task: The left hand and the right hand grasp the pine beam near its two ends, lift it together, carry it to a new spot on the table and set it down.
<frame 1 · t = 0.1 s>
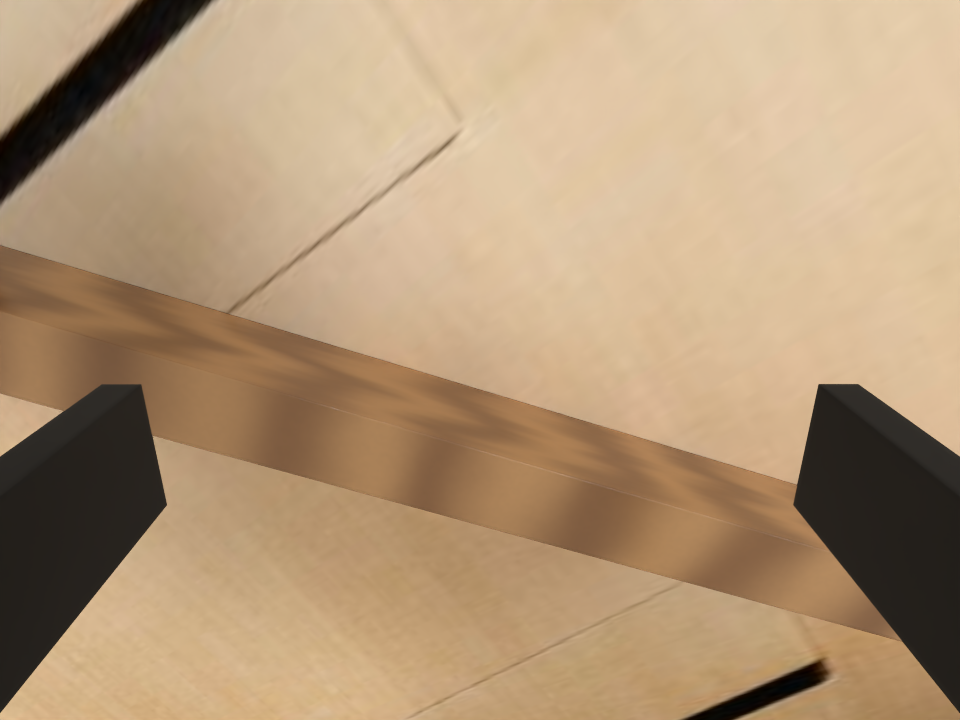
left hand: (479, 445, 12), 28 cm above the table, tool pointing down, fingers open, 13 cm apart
beam: (327, 377, 42), on the table
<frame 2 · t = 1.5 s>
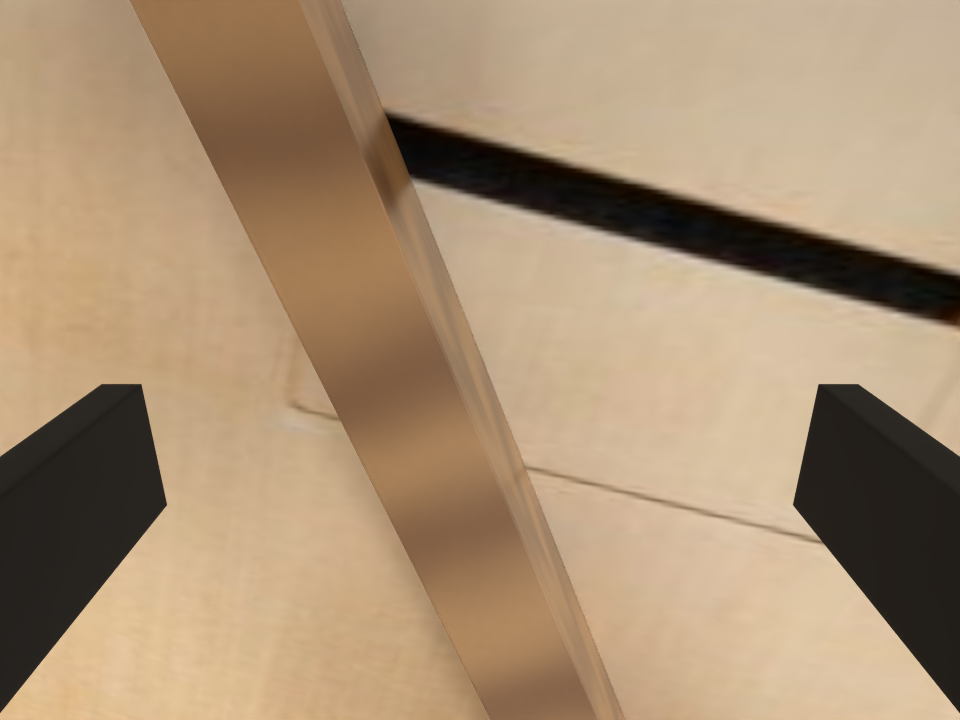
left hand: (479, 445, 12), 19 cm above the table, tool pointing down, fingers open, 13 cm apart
beam: (526, 580, 37), on the table
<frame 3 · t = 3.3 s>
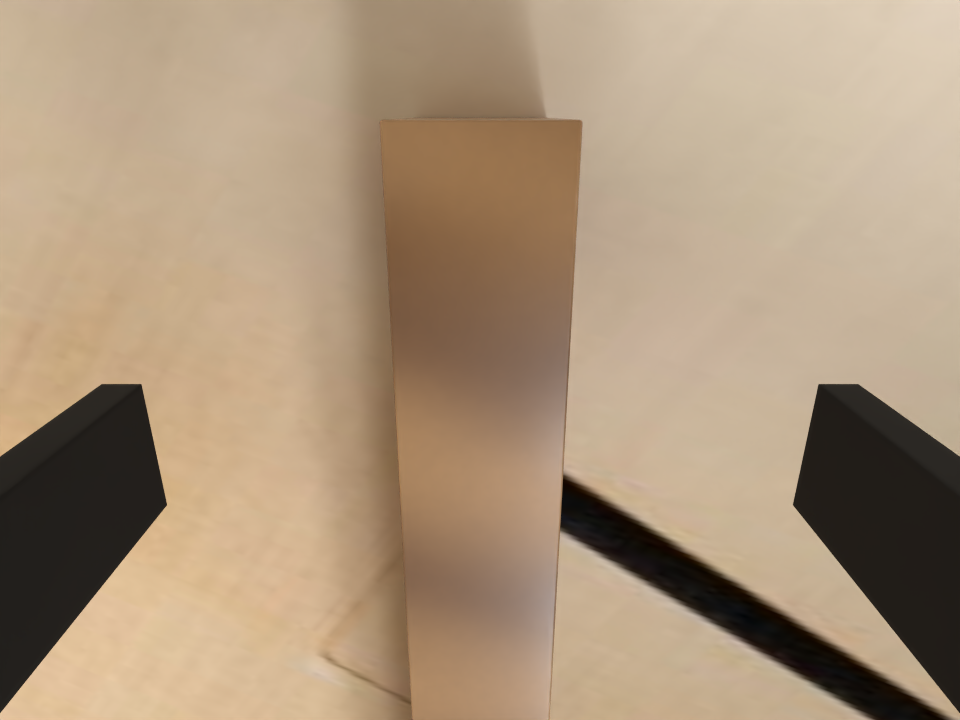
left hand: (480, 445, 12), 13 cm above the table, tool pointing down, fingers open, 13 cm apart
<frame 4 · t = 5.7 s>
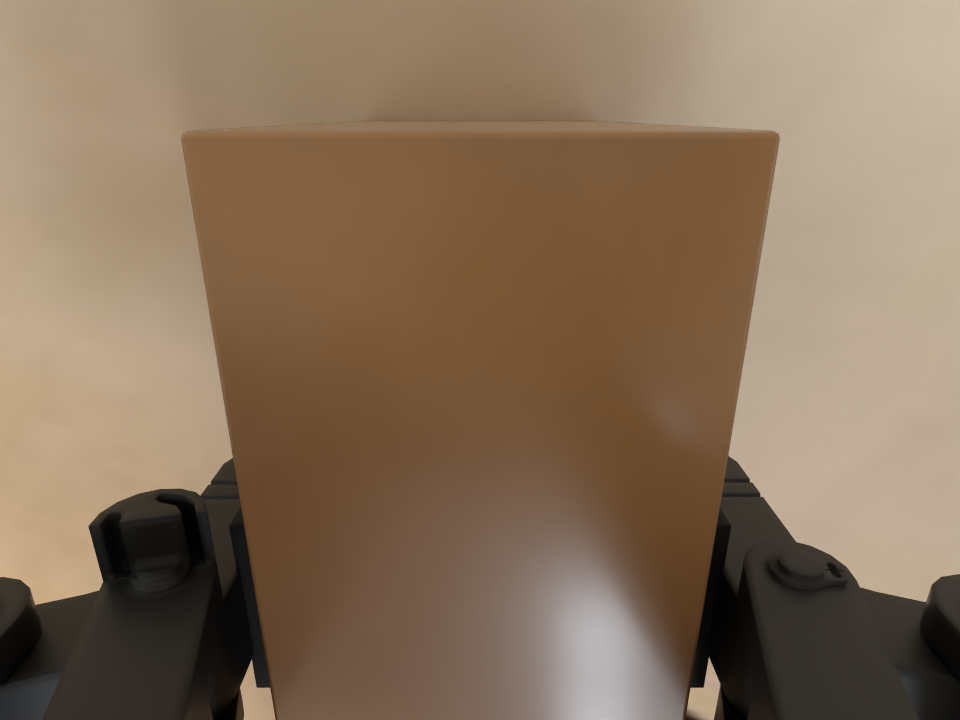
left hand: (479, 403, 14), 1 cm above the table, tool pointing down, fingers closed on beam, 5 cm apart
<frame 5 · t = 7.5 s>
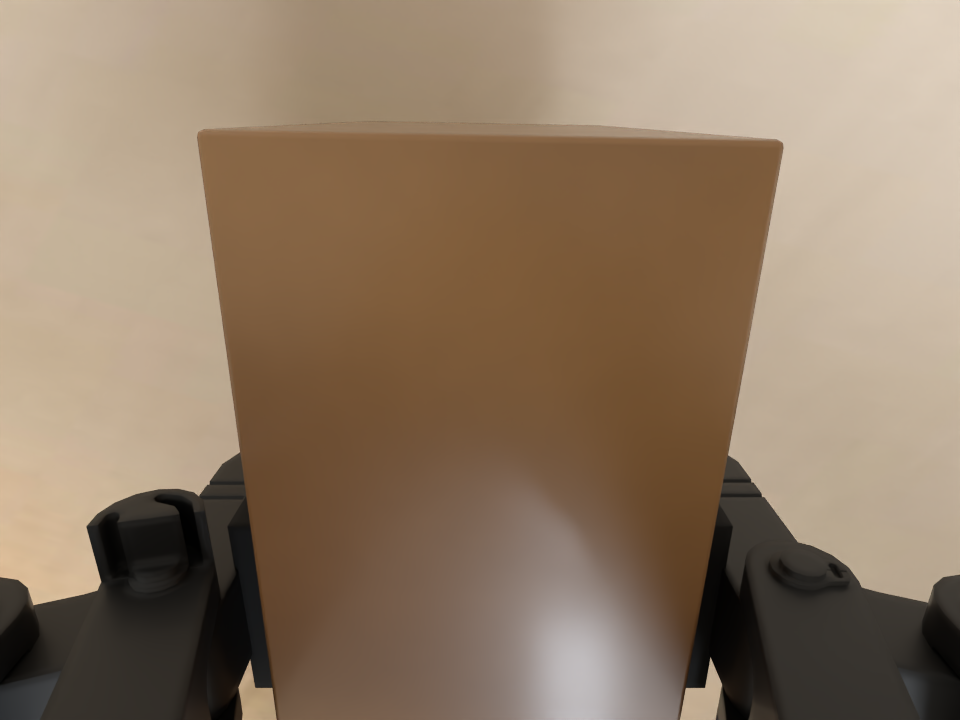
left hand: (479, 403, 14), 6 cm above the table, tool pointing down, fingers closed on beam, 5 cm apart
when the left hand's fingers open (2 cm above the table, at t = 9.8 s): beam drops 1 cm, on the table.
when the right hand's fingers open (2 cm above the table, at t = 9.8 s): beam drops 1 cm, on the table.
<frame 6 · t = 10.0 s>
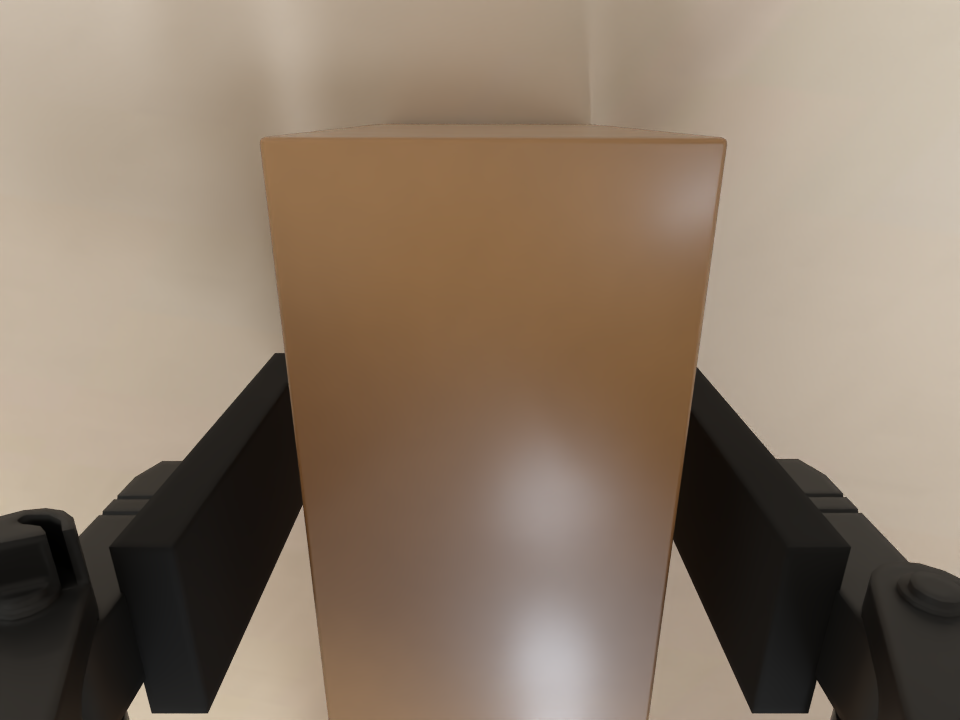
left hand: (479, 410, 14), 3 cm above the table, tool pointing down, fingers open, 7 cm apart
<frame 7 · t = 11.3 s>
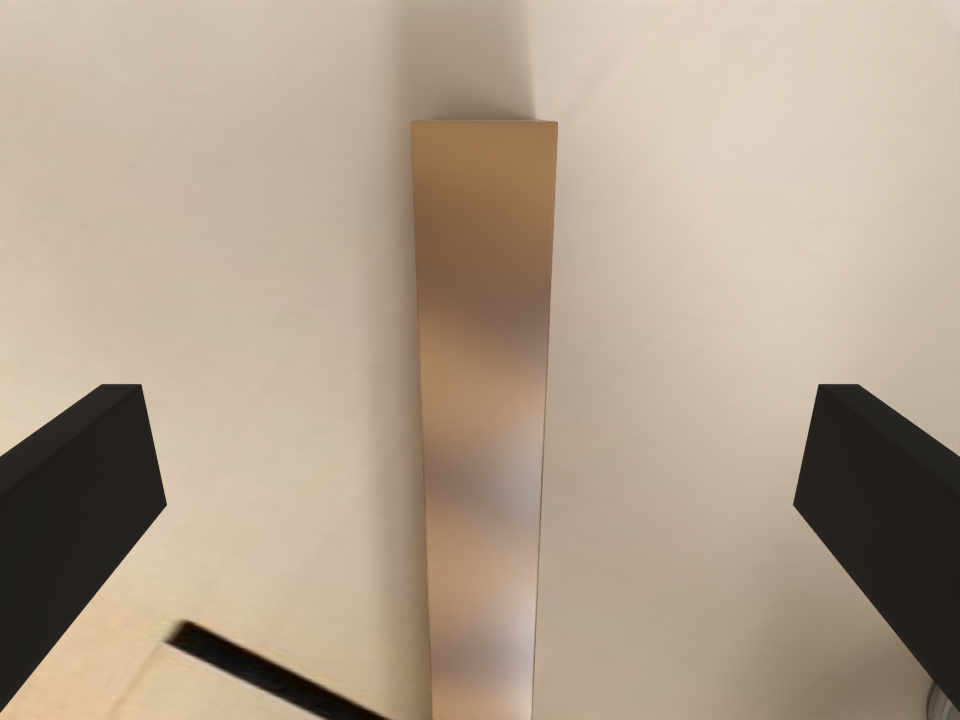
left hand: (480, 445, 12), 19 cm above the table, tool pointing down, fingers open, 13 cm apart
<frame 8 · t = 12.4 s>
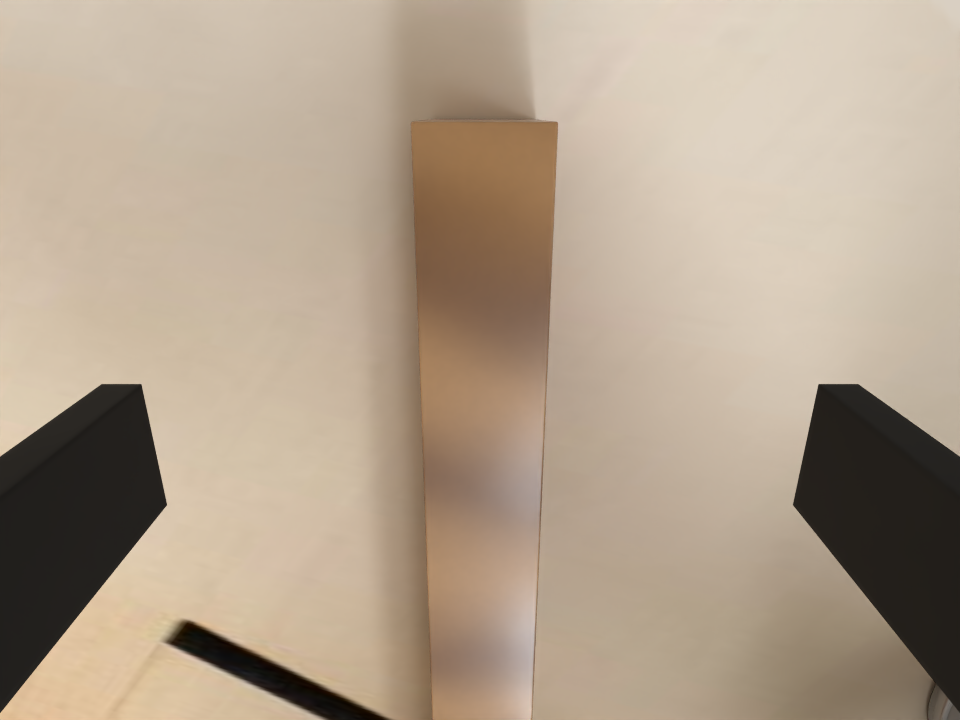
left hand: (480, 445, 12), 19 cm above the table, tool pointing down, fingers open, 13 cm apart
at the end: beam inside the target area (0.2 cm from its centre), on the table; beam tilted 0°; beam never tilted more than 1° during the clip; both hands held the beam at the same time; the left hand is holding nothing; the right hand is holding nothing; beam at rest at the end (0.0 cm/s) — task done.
